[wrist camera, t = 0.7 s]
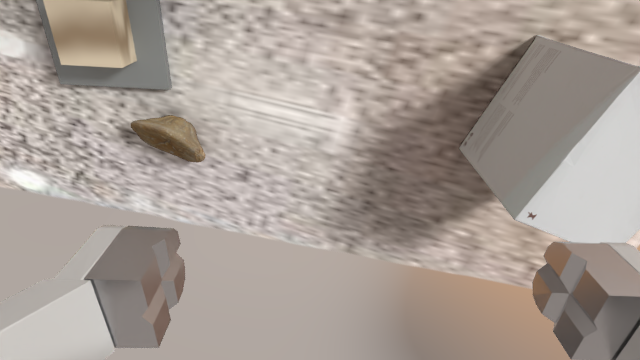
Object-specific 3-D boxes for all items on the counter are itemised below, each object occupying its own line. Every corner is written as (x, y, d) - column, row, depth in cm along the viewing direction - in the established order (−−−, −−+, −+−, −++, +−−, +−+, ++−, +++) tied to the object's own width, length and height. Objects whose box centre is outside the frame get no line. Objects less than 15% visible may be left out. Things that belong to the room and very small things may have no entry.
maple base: (64, -5, 43) (42, -3, 40) (125, -1, 43) (108, 1, 40) (80, 57, 47) (61, 64, 43) (136, 60, 47) (122, 68, 43)
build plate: (30, -42, 42) (24, -42, 42) (154, -34, 43) (150, -34, 42) (64, 81, 49) (60, 83, 48) (171, 87, 50) (169, 89, 49)
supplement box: (529, 180, 56) (610, 262, 41) (455, 148, 54) (510, 222, 38) (616, 75, 49) (757, 126, 33) (534, 31, 46) (645, 63, 30)
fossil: (117, 119, 46) (192, 144, 45) (134, 90, 47) (207, 115, 47) (146, 149, 54) (209, 171, 54) (160, 124, 56) (222, 145, 55)
